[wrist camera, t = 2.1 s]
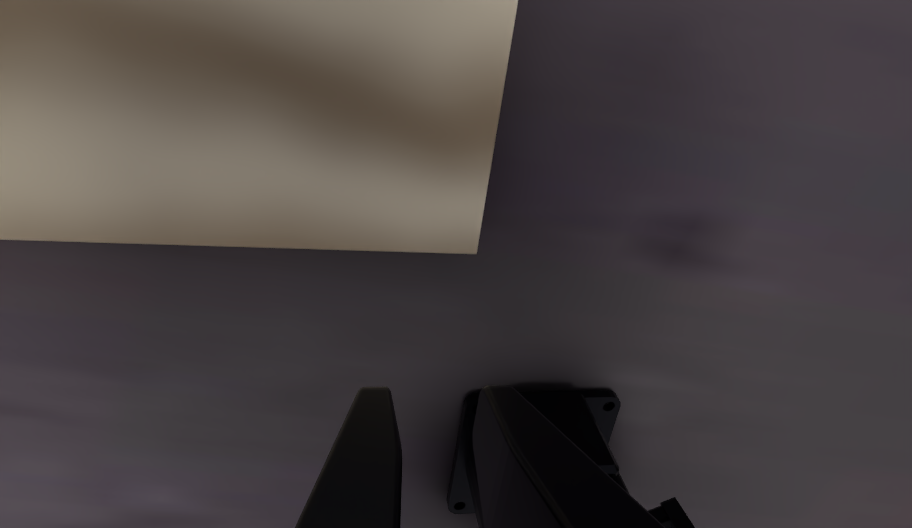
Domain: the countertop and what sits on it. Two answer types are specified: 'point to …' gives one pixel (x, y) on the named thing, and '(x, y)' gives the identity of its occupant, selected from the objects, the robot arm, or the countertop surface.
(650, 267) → the countertop surface
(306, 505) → the robot arm
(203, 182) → the board
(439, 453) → the countertop surface
